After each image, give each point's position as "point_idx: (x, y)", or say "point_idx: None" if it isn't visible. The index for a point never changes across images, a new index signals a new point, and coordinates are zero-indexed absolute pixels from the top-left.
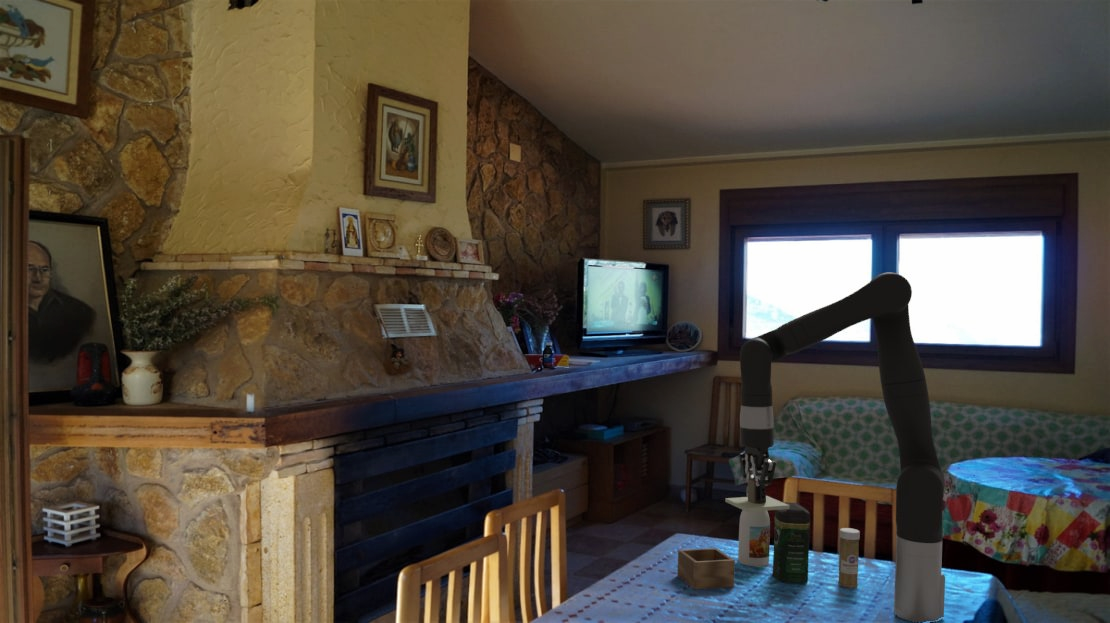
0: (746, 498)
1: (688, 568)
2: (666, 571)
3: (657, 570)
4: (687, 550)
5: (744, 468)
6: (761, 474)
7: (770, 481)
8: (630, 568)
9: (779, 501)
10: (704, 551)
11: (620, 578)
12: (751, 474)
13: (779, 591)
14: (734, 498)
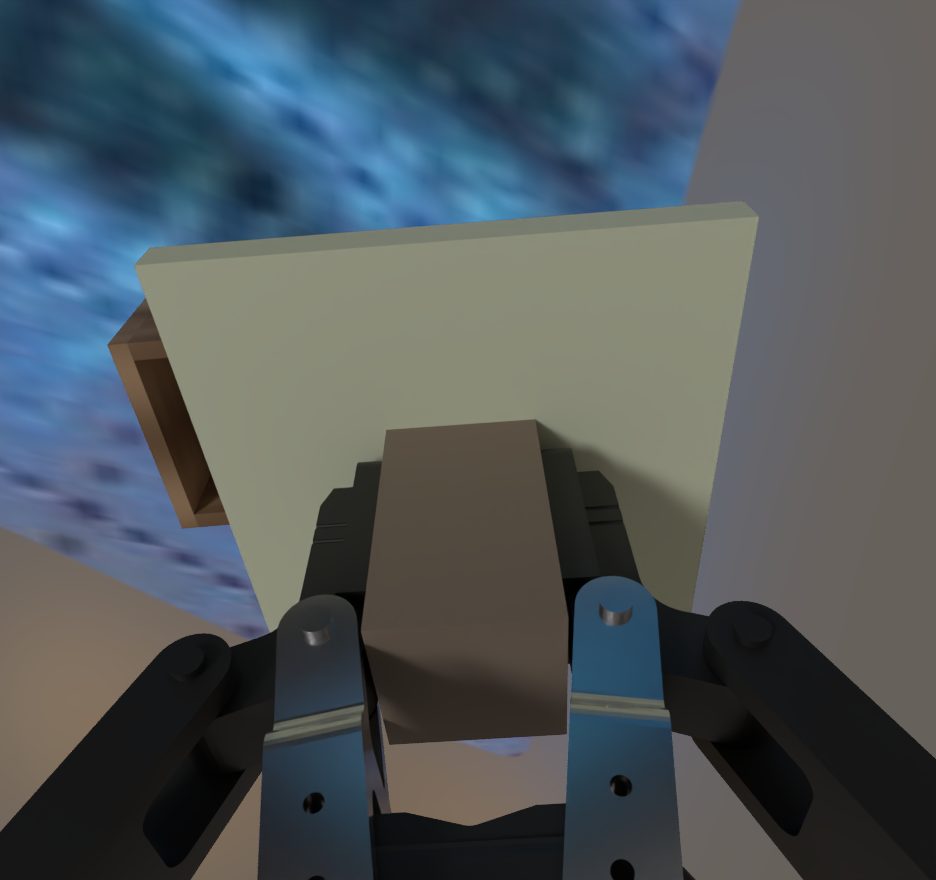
0: (299, 517)
1: None
2: (117, 459)
3: (110, 487)
4: (184, 493)
5: (194, 862)
6: (794, 846)
7: (802, 658)
8: (103, 566)
9: (513, 247)
10: (158, 408)
11: (231, 611)
12: (251, 722)
13: (391, 9)
14: (289, 600)
